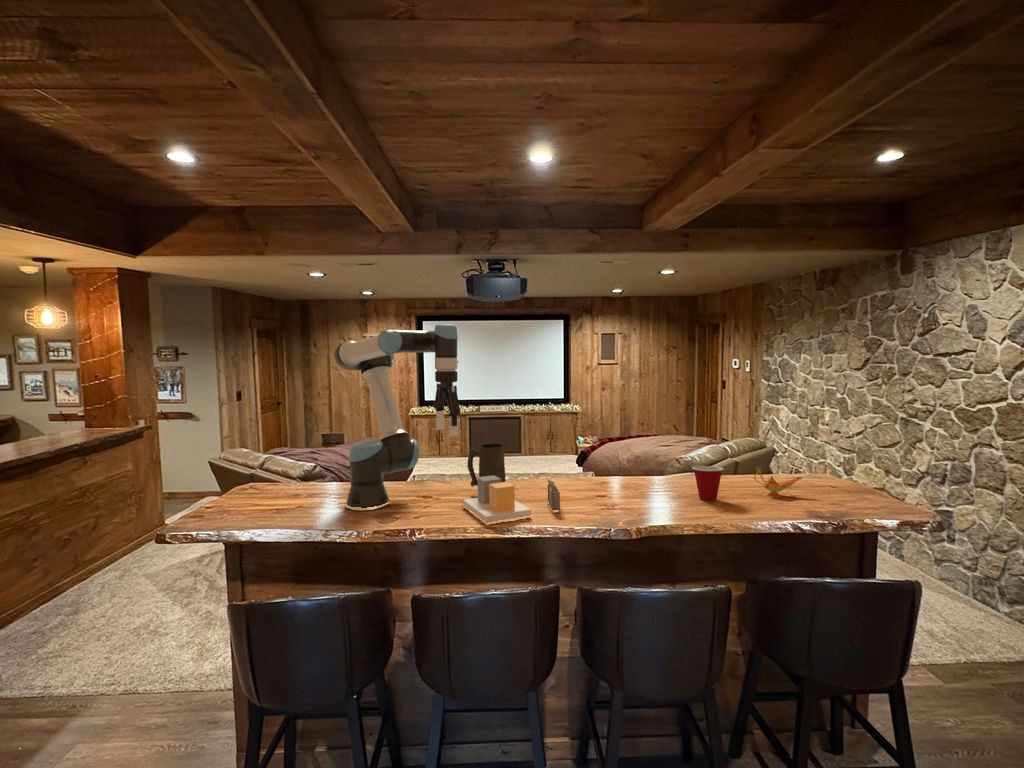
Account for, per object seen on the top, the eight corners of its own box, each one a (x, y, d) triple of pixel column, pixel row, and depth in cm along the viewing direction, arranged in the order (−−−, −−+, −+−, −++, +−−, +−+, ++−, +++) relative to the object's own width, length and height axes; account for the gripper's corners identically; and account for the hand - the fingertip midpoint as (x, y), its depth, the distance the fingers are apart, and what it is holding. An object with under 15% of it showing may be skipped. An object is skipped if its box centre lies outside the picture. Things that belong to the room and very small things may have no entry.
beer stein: (510, 491, 205) (505, 441, 204) (507, 498, 194) (502, 446, 193) (472, 493, 206) (467, 444, 205) (467, 501, 196) (462, 449, 195)
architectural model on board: (546, 505, 187) (546, 478, 186) (555, 504, 187) (554, 478, 186) (551, 514, 175) (550, 486, 175) (560, 514, 175) (559, 486, 175)
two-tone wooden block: (489, 507, 173) (488, 484, 173) (506, 504, 176) (506, 481, 175) (497, 512, 167) (496, 488, 167) (514, 509, 170) (514, 485, 170)
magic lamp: (808, 497, 187) (808, 467, 187) (758, 498, 188) (758, 468, 187) (797, 492, 194) (798, 464, 194) (749, 493, 194) (750, 464, 194)
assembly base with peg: (463, 508, 183) (462, 477, 183) (504, 501, 190) (503, 472, 190) (486, 525, 163) (485, 491, 163) (531, 518, 170) (530, 485, 170)
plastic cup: (718, 495, 193) (718, 463, 192) (727, 503, 182) (727, 470, 182) (688, 495, 194) (688, 463, 194) (696, 503, 183) (696, 470, 183)
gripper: (470, 371, 164) (470, 437, 166) (444, 368, 187) (445, 426, 188) (447, 372, 161) (448, 439, 163) (424, 368, 183) (425, 427, 185)
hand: (446, 432), depth 175 cm, fingers open, 13 cm apart
